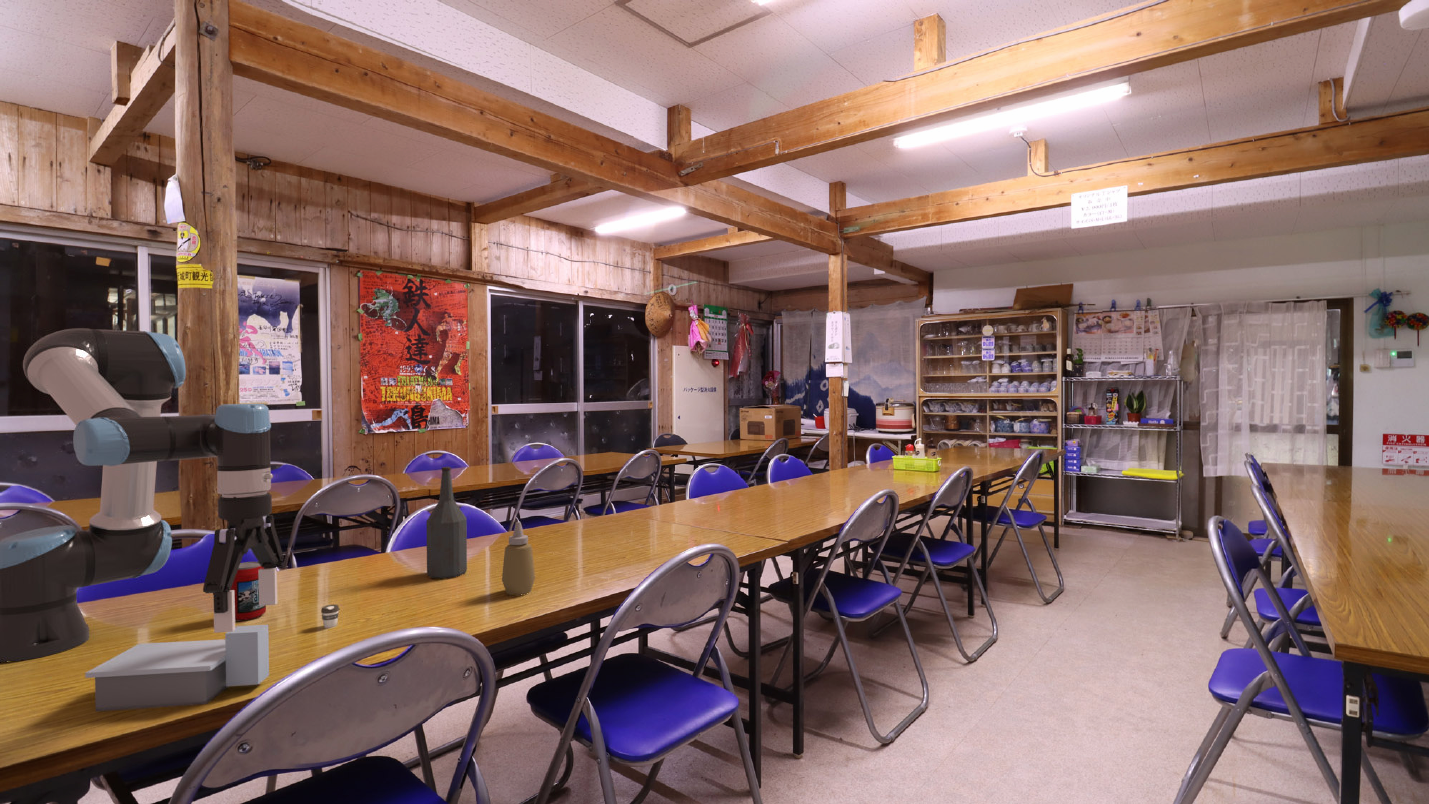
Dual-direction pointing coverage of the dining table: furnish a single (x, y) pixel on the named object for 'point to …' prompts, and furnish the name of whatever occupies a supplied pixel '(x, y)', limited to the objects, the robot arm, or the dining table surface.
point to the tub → (159, 689)
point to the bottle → (446, 534)
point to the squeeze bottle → (518, 564)
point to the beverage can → (247, 592)
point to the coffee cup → (330, 615)
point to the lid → (198, 657)
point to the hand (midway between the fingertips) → (247, 617)
